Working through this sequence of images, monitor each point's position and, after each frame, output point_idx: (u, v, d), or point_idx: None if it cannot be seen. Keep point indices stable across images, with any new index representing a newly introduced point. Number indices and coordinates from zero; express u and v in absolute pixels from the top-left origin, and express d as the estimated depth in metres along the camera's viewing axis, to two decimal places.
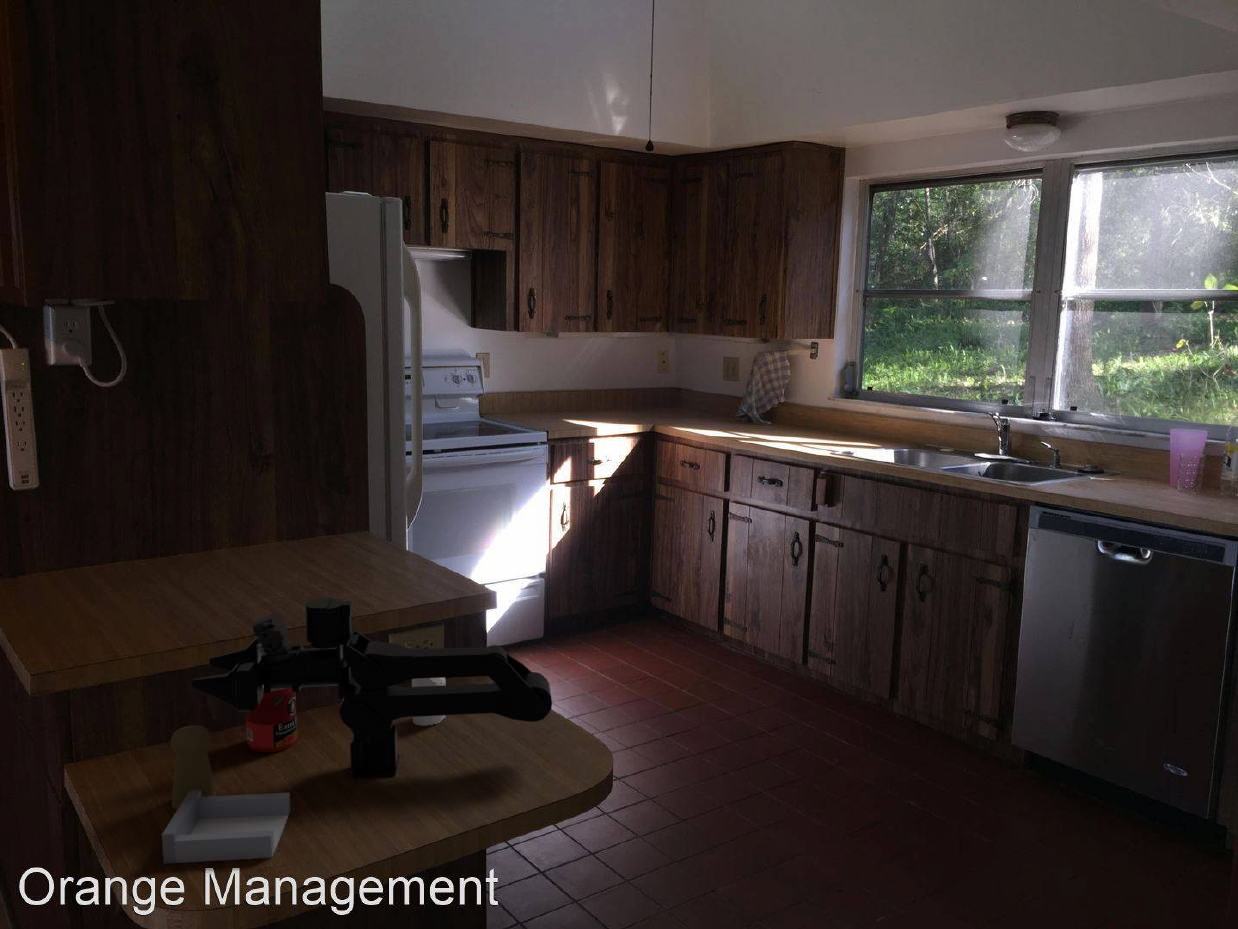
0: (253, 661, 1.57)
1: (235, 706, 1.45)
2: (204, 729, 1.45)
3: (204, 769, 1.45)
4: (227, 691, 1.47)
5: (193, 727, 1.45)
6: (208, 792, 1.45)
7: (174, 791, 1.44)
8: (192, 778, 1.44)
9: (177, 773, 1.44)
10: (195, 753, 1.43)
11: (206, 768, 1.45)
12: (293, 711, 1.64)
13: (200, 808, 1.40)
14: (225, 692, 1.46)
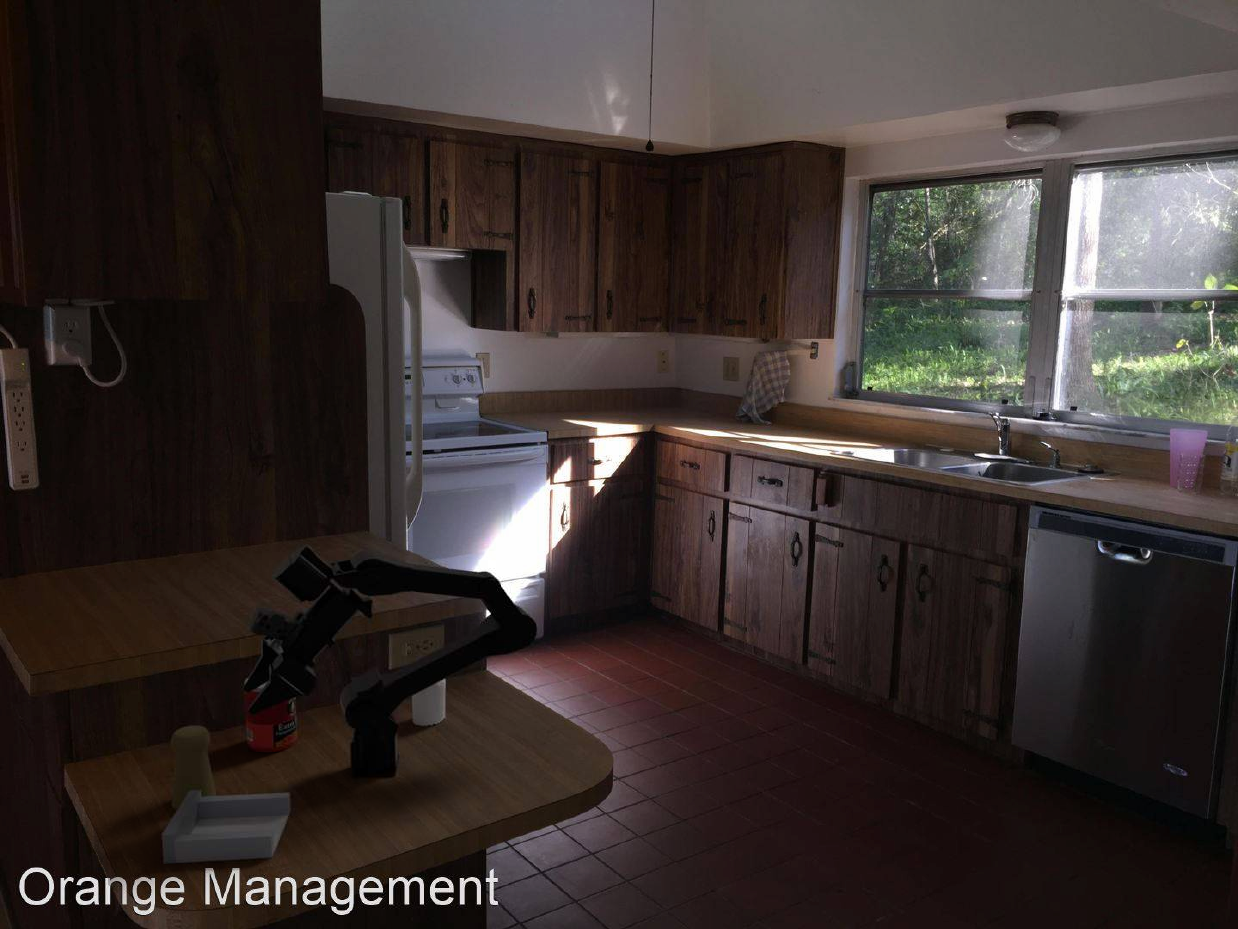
0: None
1: (300, 694, 1.43)
2: (204, 729, 1.45)
3: (204, 769, 1.45)
4: (282, 691, 1.44)
5: (193, 727, 1.45)
6: (208, 792, 1.45)
7: (174, 791, 1.44)
8: (192, 778, 1.44)
9: (177, 773, 1.44)
10: (195, 753, 1.43)
11: (206, 768, 1.45)
12: (293, 711, 1.64)
13: (200, 808, 1.40)
14: (282, 693, 1.44)
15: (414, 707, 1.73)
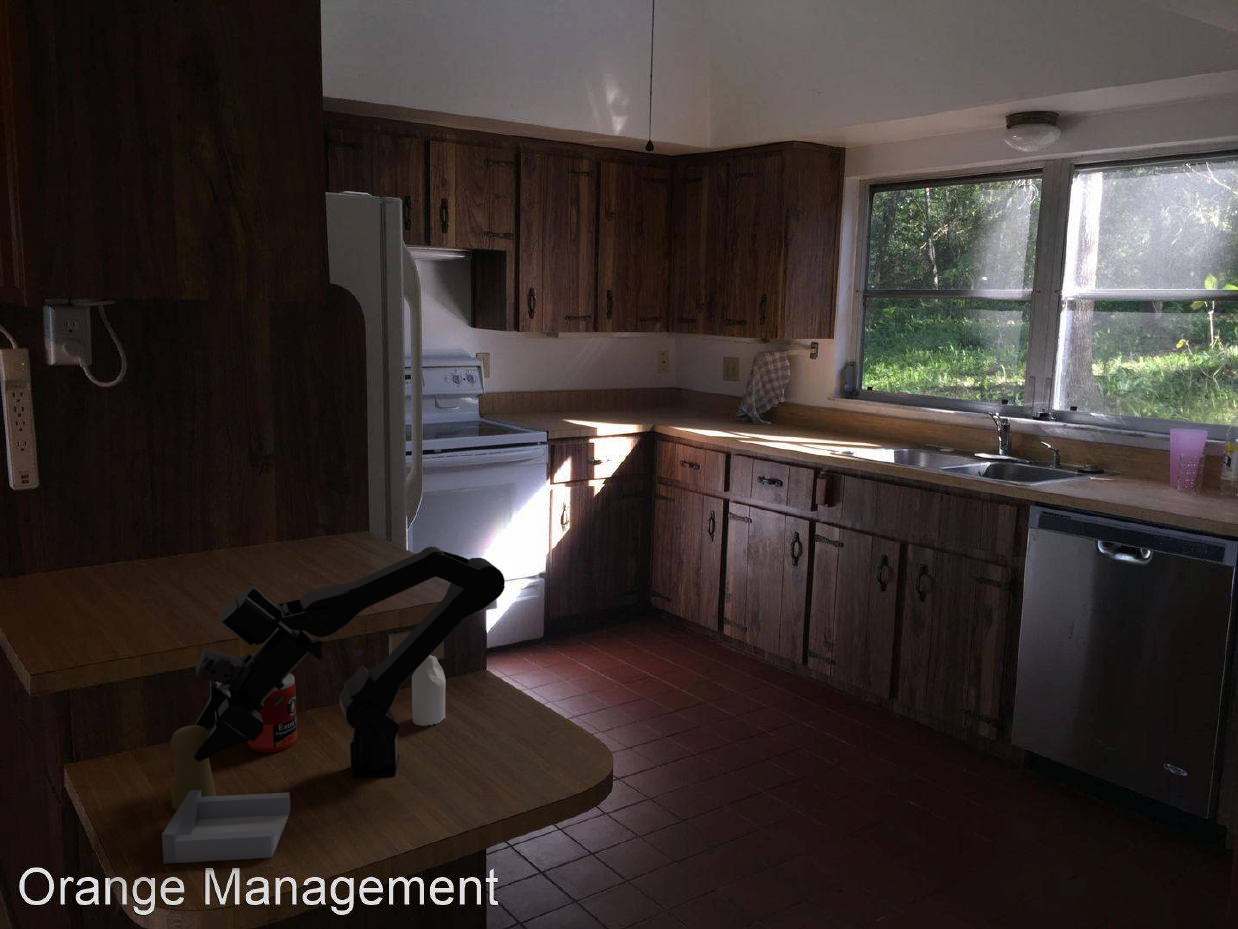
0: None
1: (247, 740, 1.40)
2: (204, 729, 1.45)
3: (204, 769, 1.45)
4: (229, 737, 1.41)
5: (193, 727, 1.45)
6: (208, 792, 1.45)
7: (174, 791, 1.44)
8: (192, 778, 1.44)
9: (177, 773, 1.44)
10: None
11: (206, 768, 1.45)
12: (293, 711, 1.64)
13: (200, 808, 1.40)
14: (228, 739, 1.41)
15: (414, 707, 1.73)
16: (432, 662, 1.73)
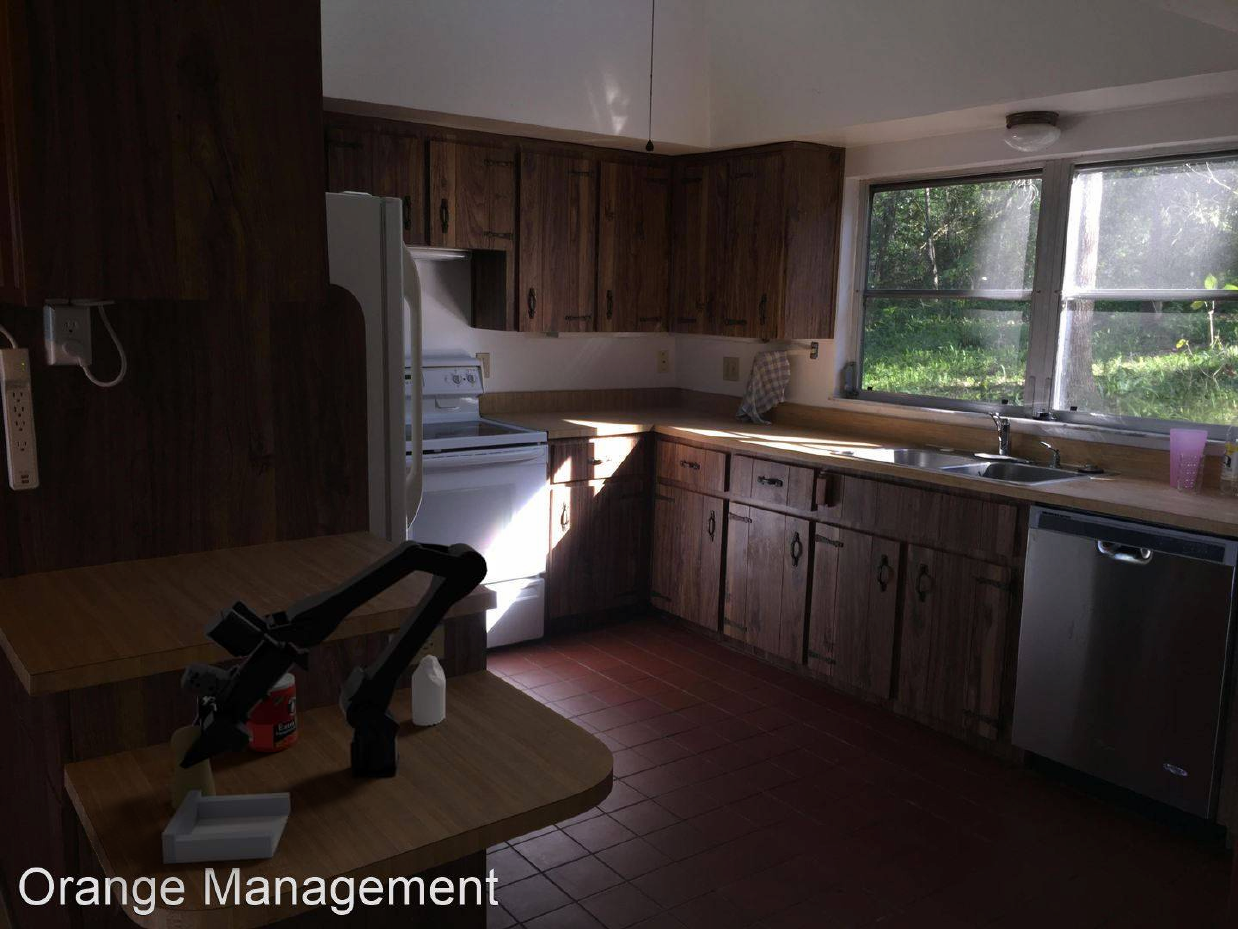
0: None
1: None
2: None
3: (204, 769, 1.45)
4: (214, 745, 1.43)
5: (193, 727, 1.45)
6: (208, 792, 1.45)
7: (174, 791, 1.44)
8: (192, 778, 1.44)
9: (177, 772, 1.44)
10: None
11: (206, 768, 1.45)
12: (293, 711, 1.64)
13: (200, 808, 1.40)
14: (213, 747, 1.43)
15: (414, 707, 1.73)
16: (432, 662, 1.73)
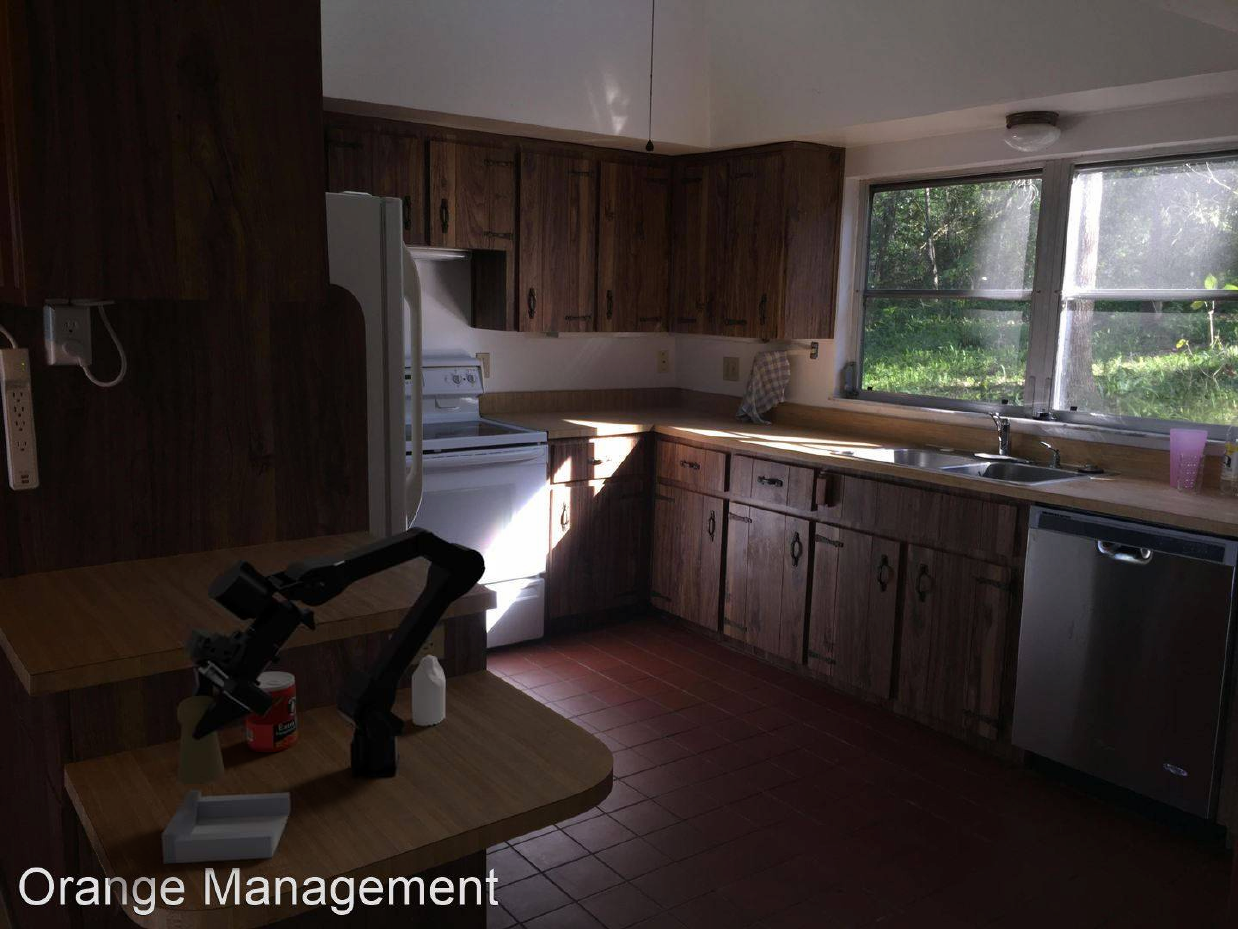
0: None
1: (250, 712, 1.37)
2: (211, 698, 1.39)
3: (214, 739, 1.39)
4: (229, 712, 1.37)
5: (199, 697, 1.39)
6: (219, 763, 1.39)
7: (182, 765, 1.37)
8: (204, 750, 1.37)
9: (187, 745, 1.37)
10: None
11: (216, 738, 1.39)
12: (293, 711, 1.64)
13: (200, 808, 1.40)
14: (228, 714, 1.37)
15: (414, 707, 1.73)
16: (432, 662, 1.73)
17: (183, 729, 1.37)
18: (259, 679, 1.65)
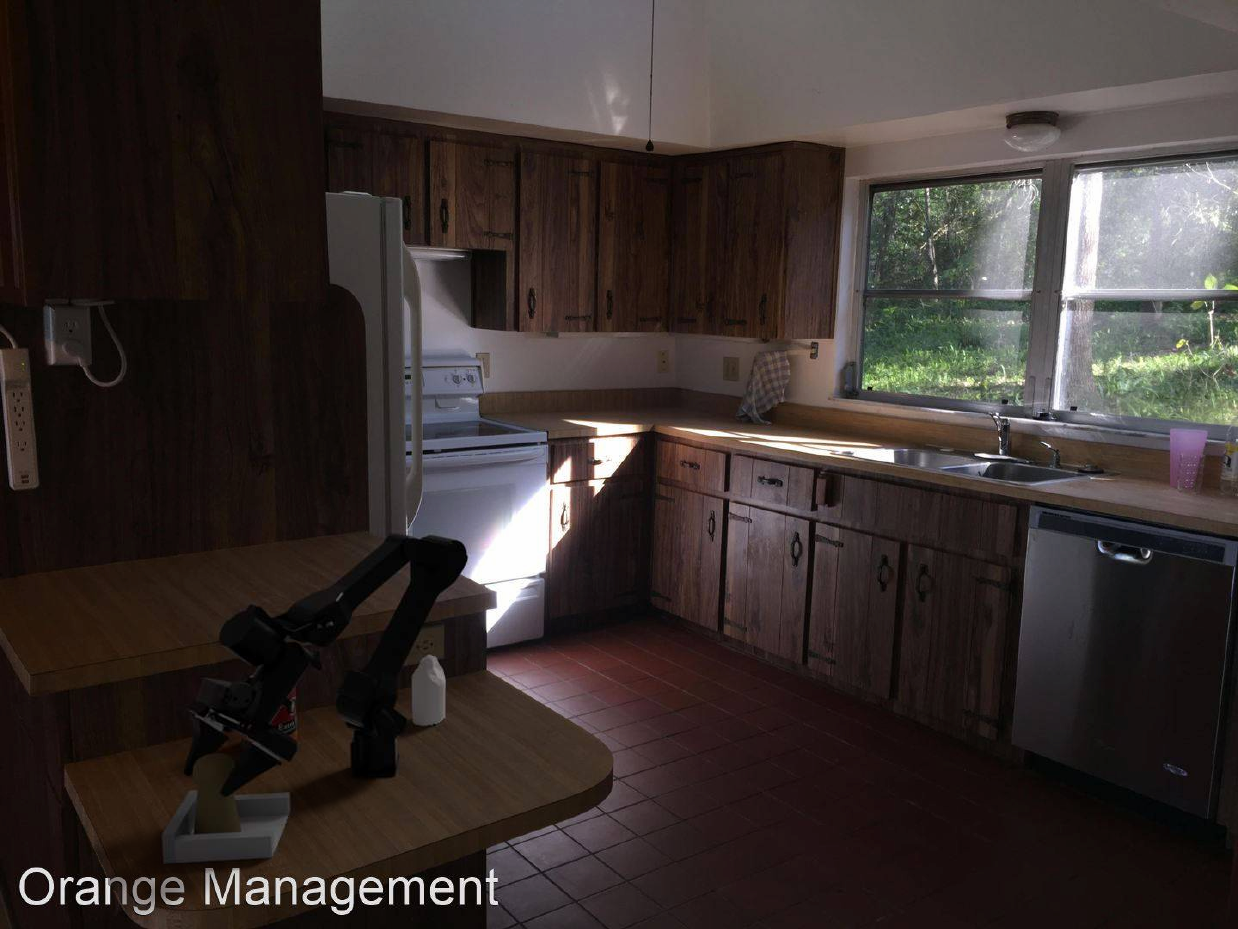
0: (215, 733, 1.40)
1: (280, 763, 1.34)
2: (227, 755, 1.36)
3: (232, 797, 1.36)
4: (257, 764, 1.33)
5: (214, 755, 1.35)
6: (237, 820, 1.36)
7: (202, 827, 1.34)
8: (225, 808, 1.34)
9: (206, 806, 1.33)
10: None
11: (233, 796, 1.36)
12: (293, 711, 1.64)
13: None
14: (257, 767, 1.33)
15: (414, 707, 1.73)
16: (432, 662, 1.73)
17: (201, 789, 1.34)
18: None
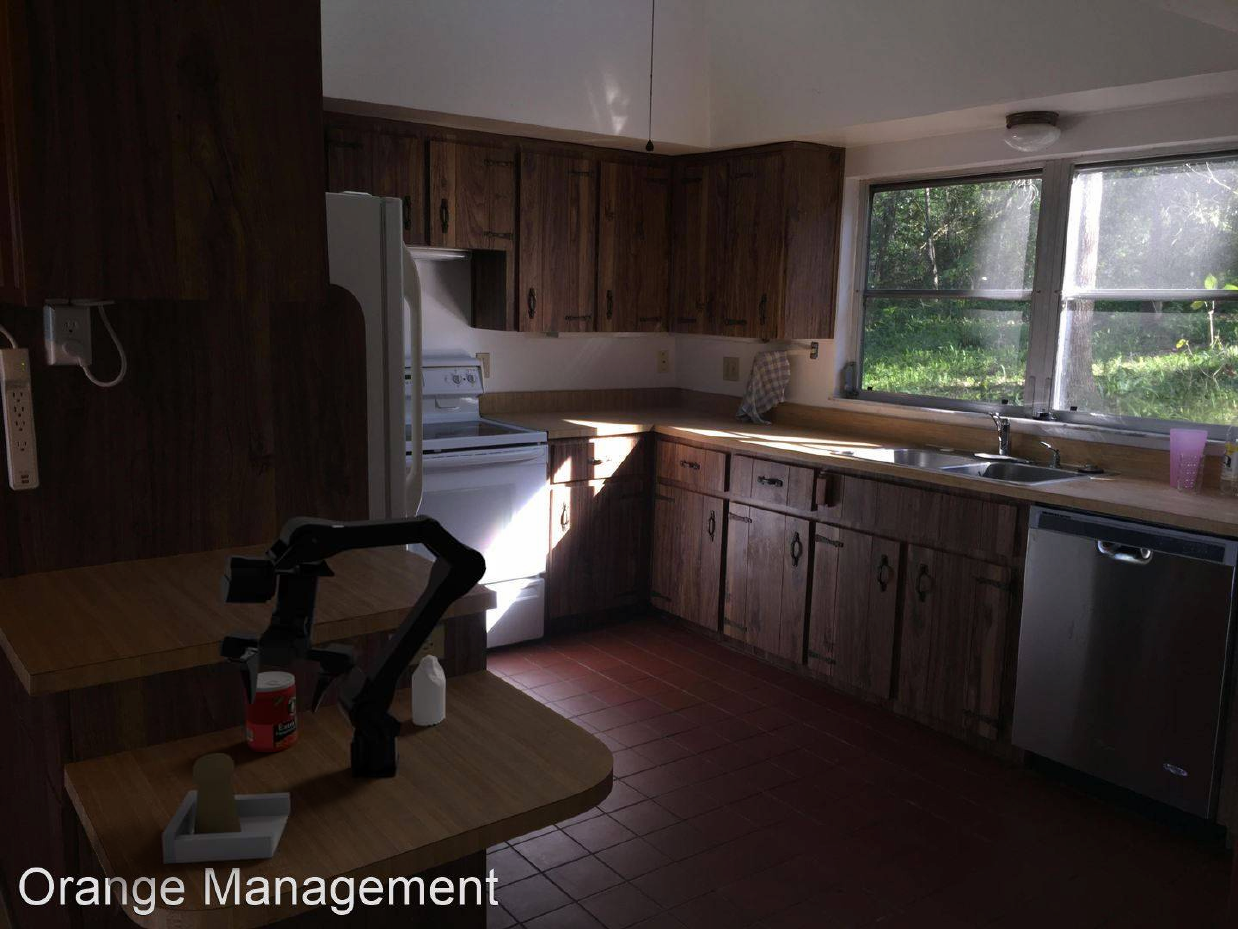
0: (254, 659, 1.48)
1: None
2: (227, 755, 1.36)
3: (232, 797, 1.36)
4: None
5: (214, 755, 1.35)
6: (237, 820, 1.36)
7: (202, 827, 1.34)
8: (225, 808, 1.34)
9: (206, 806, 1.33)
10: (226, 781, 1.34)
11: (233, 796, 1.36)
12: (293, 711, 1.64)
13: None
14: None
15: (414, 707, 1.73)
16: (432, 662, 1.73)
17: (201, 789, 1.34)
18: (259, 679, 1.65)
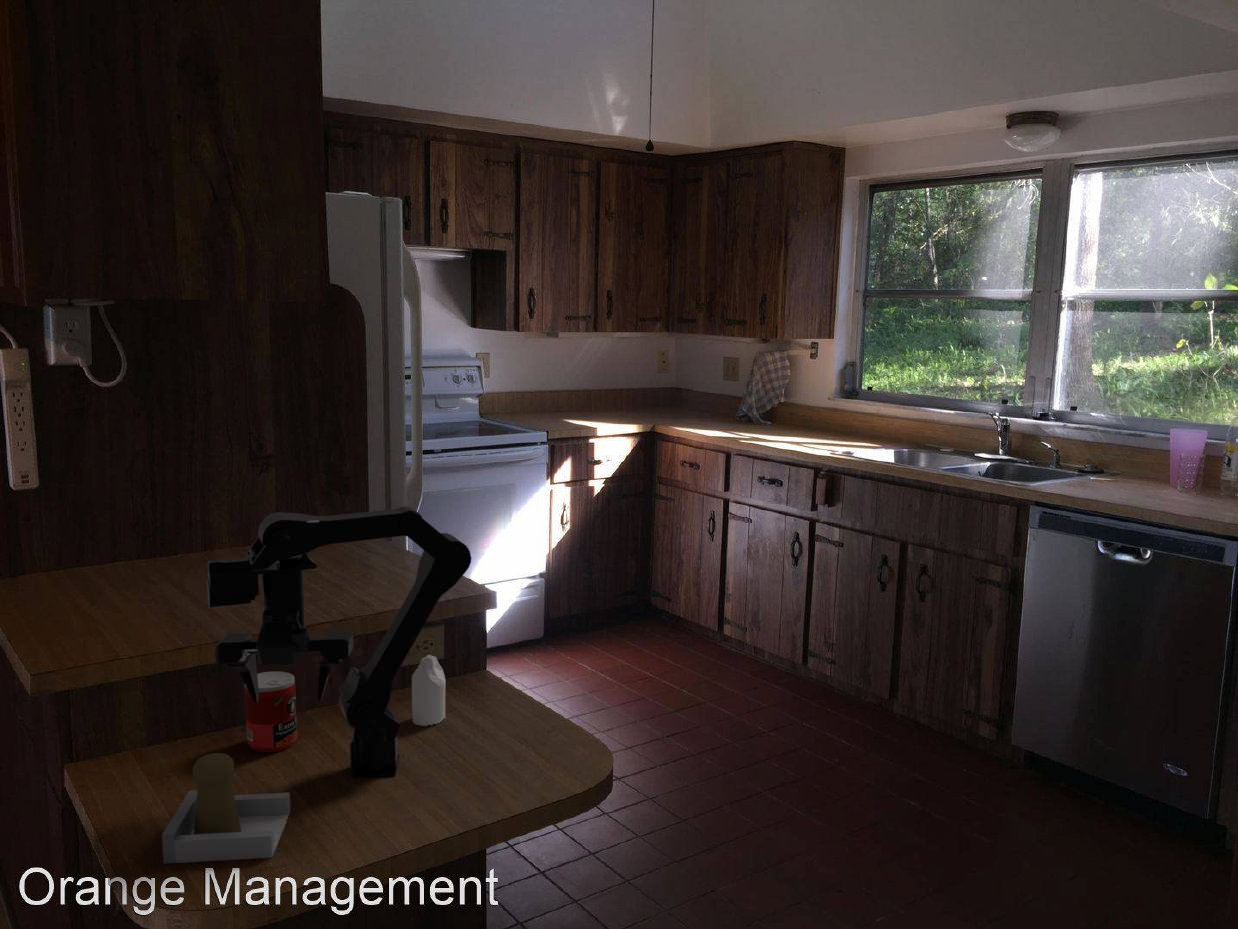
0: (251, 660, 1.49)
1: None
2: (227, 755, 1.36)
3: (232, 797, 1.36)
4: None
5: (214, 755, 1.35)
6: (237, 820, 1.36)
7: (202, 827, 1.34)
8: (225, 808, 1.34)
9: (206, 806, 1.33)
10: (226, 781, 1.34)
11: (233, 796, 1.36)
12: (293, 711, 1.64)
13: None
14: None
15: (414, 707, 1.73)
16: (432, 662, 1.73)
17: (201, 789, 1.34)
18: (259, 679, 1.65)
